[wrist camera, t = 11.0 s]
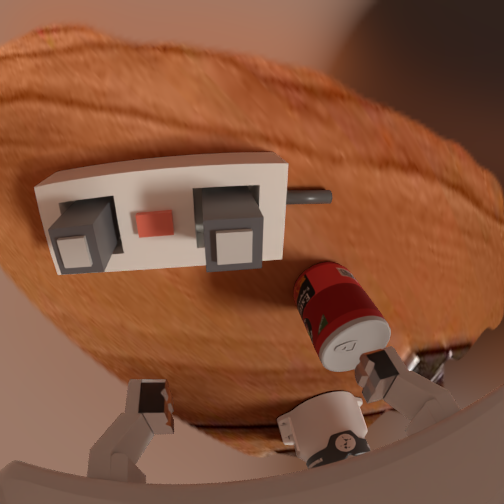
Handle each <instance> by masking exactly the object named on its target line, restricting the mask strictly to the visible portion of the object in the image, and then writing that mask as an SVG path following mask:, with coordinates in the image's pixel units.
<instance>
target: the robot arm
mask: <svg viewBox="0 0 504 504" xmlns="http://www.w3.org/2000/svg"><path fill="white" fill-rule="evenodd" d="M359 360H360V363H359V364H357V365H356V368H355V378H356V381H357V383H358V385H359V386H361V387H363V390H362V394H363V396H364V398H365V400H366V402H367V403H371V402H374V401H378V400H381V399H383V400H384V401H385V402H387V403H388V404H389V405H391V406H392V407H393V408H395V409H396V410H397V411H399V412H400V413H401V414H403V415H404V416H405V417H407V418H408V419H409V420H411V422H410V423H409V424H408V426H407V427H406V428H405V432H406V434H407V436H408V437H405V438H403V439H401V440H398V441H396V442H393V443H391V444H388V445H385V446H383V447H380V448H377V449H375V450H372V451H370V447H369V445H368V443H367V441H366V439H364V437H365V435H366V433H367V427H366V424H365V421H364V418H363V415H362V413H361V410H360V406H361V405H362V403H363V402H362V399H361V398H357V397H354V396H353V395H352V394H351V393H349V392H344V391H338V392H331V393H326V394H323V395H320V396H317V397H314V398H312V399H309V400H307V401H305V402H304V403H302V404H300V405H299V406H297V407H296V408H295V409H293V410H292V411H290V412H289V413H286V414H284V415H282V416H280V417H278V418H277V423H278V426H279V430H280V433H281V437H282V440H283V443H284V444H285V445H294V447H295V451H296V454H297V457H298V458H300V459H302V460H304V461H305V462H307V463H306V465H307V467H308V469H307V470H302V471H297V472H293V473H288V474H283V475H277V476H271V477H265V478H259V479H251V480H242V481H233V482H222V483H207V484H146V475H145V474H144V473H143V472H142V471H141V470H140V469H139V468H138V467H137V466H136V465H135V464H136V463H137V461H138V460H139V458H140V457H141V455H142V453H143V452H144V450H145V449H146V447H147V446H148V444H149V443H150V441H151V440H152V438H153V436H154V434H174V420H173V417H172V415H171V414H172V412H173V411H174V405H173V397H172V393H171V390H170V389H169V384H168V381H167V379H130V381H129V383H128V391H127V399H126V408H125V413H121V414H120V415H119V417H118V418H117V419H116V420H115V421H114V422H113V423H112V425H111V426H110V427H109V428H108V429H107V430H106V432H105V433H104V434H103V435H102V436H101V437H100V438H99V440H98V441H97V442H96V443H95V444H94V445H93V446H92V448H91V449H90V454H89V462H88V472H87V477H84V476H78V475H73V474H68V473H63V472H59V471H55V470H50V469H46V468H42V467H38V466H35V465H32V464H28V463H25V462H22V461H16V460H15V461H12V462H11V463H9V464H8V465H6V466H5V467H4V468H3V469H2V470H1V471H0V504H504V384H502V385H500V386H499V387H497V388H496V389H494V390H493V391H491V392H490V393H488V394H487V395H485V396H483V397H482V398H480V399H479V400H477V401H475V402H474V403H472V404H470V405H469V406H467V407H465V408H464V409H462V410H461V409H460V408H459V406H458V404H457V403H456V401H455V400H454V398H453V397H452V395H451V394H450V392H449V391H448V390H446V389H444V388H443V387H441V386H439V385H437V384H435V383H433V382H431V381H430V380H428V379H426V378H424V377H422V376H420V375H419V374H417V373H415V372H413V371H409V370H408V369H407V367H406V366H405V364H404V363H403V361H402V360H401V358H400V357H399V355H398V354H397V352H396V350H395V349H394V348H393V347H392V346H390V347H386V348H383V349H378V350H374V351H370V352H366V353H363V354H361V355H360V358H359Z"/></svg>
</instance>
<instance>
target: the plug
mask: <svg viewBox="0 0 504 504" xmlns="http://www.w3.org/2000/svg"><path fill="white" fill-rule="evenodd" d="M202 209H203V229H204V244H205V258H206V271H207V272H218V271H231V270H244V269H256V268H262V252H263V223H264V217H263V215H262V213H261V211H260V209H259V207H258V205H257V203H256V201H255V199H254V198H253V196H252V194H251V192H250V190H249V188H248V186H247V185H246V186H224V187H206V188H202Z"/></svg>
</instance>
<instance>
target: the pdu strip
mask: <svg viewBox="0 0 504 504" xmlns="http://www.w3.org/2000/svg"><path fill="white" fill-rule="evenodd" d="M287 178H288V163H287V162H286V161H285V160H283V159H282V158H281V157H280V156H278V155H277V154H276V153H274V152H239V153H213V154H195V155H180V156H168V157H157V158H147V159H138V160H129V161H121V162H113V163H106V164H99V165H93V166H86V167H80V168H74V169H69V170H63V171H58V172H55V173H54V174H52V175H51V176H49V177H48V178H46V179H45V180H43V181H42V182H40V183H39V184H38V185H36V186H35V187H34V190H35V194H36V199H37V204H38V208H39V212H40V216H41V220H42V224H43V228H44V232H45V235H46V239H47V242H48V246H49V249H50V252H51V256H52V259H53V262H54V265H55V268H56V271H57V274H58V275H64V274H81V273H97V272H113V271H128V270H143V269H158V268H173V267H187V266H201V265H206V258H205V244H204V229H203V209H202V188H206V187H224V186H246V185H247V186H248V188H249V190H250V192H251V194H252V196H253V198H254V199H255V201H256V203H257V205H258V207H259V209H260V211H261V213H262V215H263V217H264V223H263V252H262V261H268V260H281V259H282V255H283V241H284V227H285V211H286V204H323V203H331V201H332V193H331V191H330V190H287Z"/></svg>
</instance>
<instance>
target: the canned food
mask: <svg viewBox="0 0 504 504" xmlns="http://www.w3.org/2000/svg"><path fill="white" fill-rule="evenodd" d="M294 301H295V304H296V306H297V308H298V311H299V313H300V315H301V318H302V320H303V322H304V324H305V327H306V329H307V331H308V334H309V336H310V338H311V341H312V343H313V345H314V348H315V350H316V352H317V354H318V356H319V359H320V361H321V363H322V364H323V366H324V367H325V368H326V369H328V370H331V371H335V372H342V371H349V370H352V369H355V368H356V365H357V364H359V363H360V360H359V358H360V355H361V354H363V353H366V352H370V351H374V350H378V349H383V348H385V347H386V345H387V343H388V341H389V339H390V335H391V331H390V327H389V325H388V323H387V321H386V320H385V319H384V317H383V316H382V314H381V313H380V311H379V310H378V308H377V307H376V306H375V304H374V303H373V302H372V300H371V299H370V298H369V296H368V295H367V294H366V292H365V291H364V290H363V288H362V287H361V286H360V284H359V283H358V282H357V280H356V279H355V278H354V277H353V275H352V274H351V273H350V271H349V270H348V269H347V268H345V267H343V266H342V265H340V264H338V263H334V262H323V263H319V264H316V265H314V266H312V267H310V268H308V269H307V270H305V271H304V272H303V273H302V274H301V275H300V277H299V278H298V279H297V281H296V283H295V286H294Z"/></svg>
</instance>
